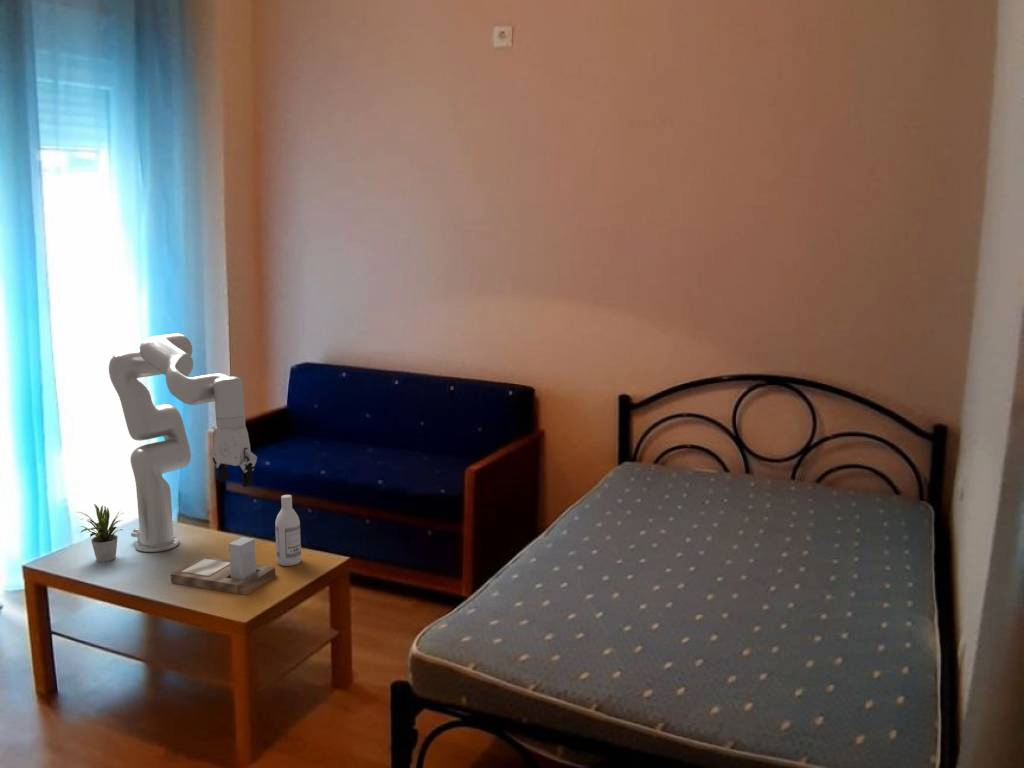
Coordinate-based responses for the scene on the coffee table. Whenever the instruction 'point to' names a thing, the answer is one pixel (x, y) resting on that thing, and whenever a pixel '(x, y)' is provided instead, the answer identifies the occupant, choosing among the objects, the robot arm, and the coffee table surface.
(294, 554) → the bath foam
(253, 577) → the walnut frame
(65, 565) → the coffee table surface
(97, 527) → the house plant
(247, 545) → the skincare box
